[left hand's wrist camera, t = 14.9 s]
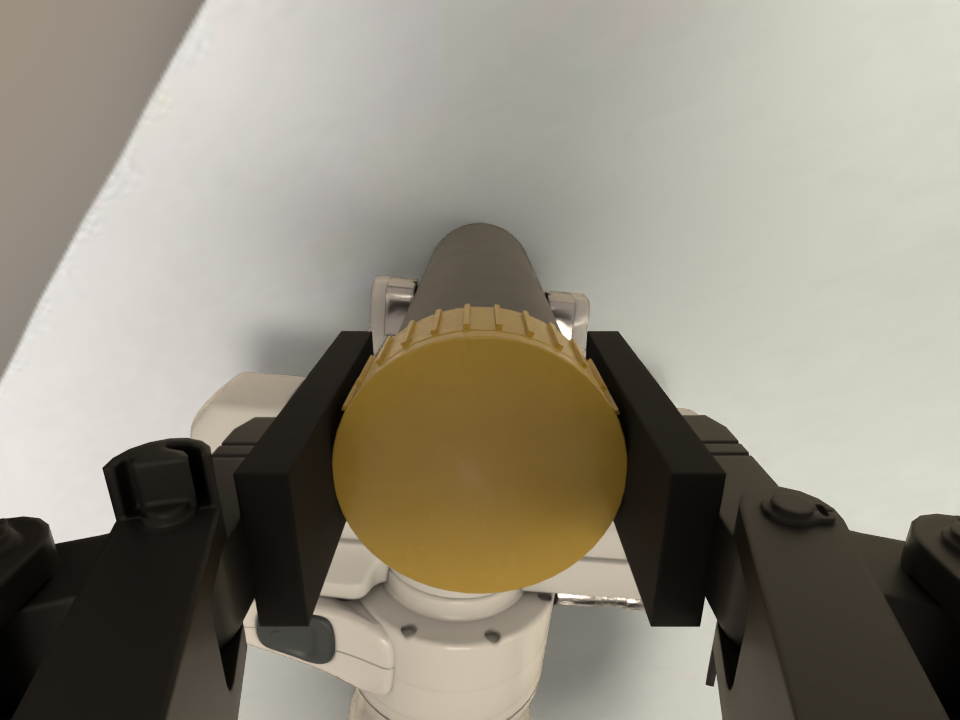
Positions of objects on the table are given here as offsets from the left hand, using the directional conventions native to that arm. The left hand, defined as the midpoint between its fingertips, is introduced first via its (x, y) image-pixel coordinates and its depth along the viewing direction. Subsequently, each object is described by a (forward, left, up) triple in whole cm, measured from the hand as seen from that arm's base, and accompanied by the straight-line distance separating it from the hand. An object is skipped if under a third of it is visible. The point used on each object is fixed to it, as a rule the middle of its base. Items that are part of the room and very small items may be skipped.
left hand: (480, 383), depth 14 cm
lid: (0, 0, +4) cm, 4 cm away
